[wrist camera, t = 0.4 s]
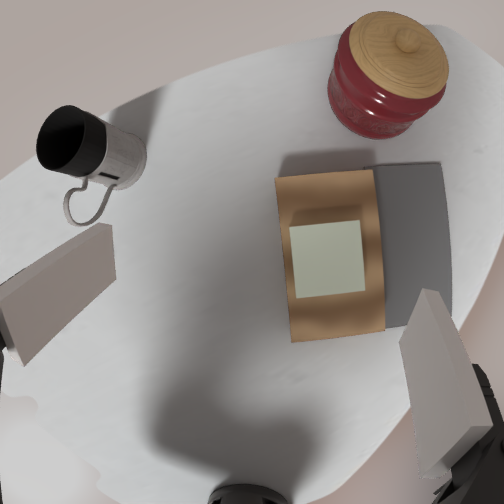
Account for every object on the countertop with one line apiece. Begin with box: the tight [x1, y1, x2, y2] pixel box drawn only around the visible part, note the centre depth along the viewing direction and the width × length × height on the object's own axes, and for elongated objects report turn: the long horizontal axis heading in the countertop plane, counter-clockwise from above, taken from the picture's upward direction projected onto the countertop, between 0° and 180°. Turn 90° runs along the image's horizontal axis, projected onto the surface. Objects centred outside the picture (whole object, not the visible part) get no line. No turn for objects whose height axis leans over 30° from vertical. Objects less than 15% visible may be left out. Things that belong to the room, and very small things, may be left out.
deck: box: [275, 169, 385, 343], centre depth 39 cm, size 20×12×4 cm, turn 6°
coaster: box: [289, 220, 365, 298], centre depth 36 cm, size 8×8×2 cm
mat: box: [364, 164, 452, 329], centre depth 40 cm, size 22×12×1 cm, turn 6°
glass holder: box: [36, 105, 147, 227], centre depth 36 cm, size 9×14×15 cm, turn 5°
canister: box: [328, 11, 449, 139], centre depth 31 cm, size 13×13×18 cm
